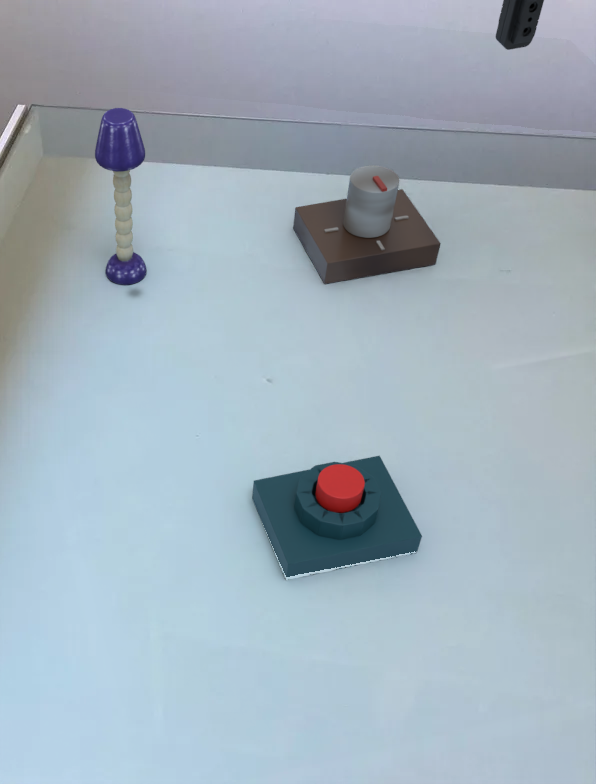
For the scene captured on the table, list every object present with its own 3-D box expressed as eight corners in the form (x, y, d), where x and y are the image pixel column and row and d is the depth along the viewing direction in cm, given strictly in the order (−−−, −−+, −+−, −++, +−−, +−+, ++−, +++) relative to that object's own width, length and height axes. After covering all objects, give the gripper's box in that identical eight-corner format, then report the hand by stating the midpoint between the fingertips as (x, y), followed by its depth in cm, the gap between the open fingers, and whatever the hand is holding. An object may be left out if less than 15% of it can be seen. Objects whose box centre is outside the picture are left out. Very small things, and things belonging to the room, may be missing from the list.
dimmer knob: (335, 215, 99) (343, 166, 95) (379, 207, 100) (388, 158, 96) (353, 241, 97) (361, 193, 92) (397, 233, 97) (408, 184, 93)
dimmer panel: (398, 210, 104) (403, 187, 102) (435, 264, 98) (441, 241, 96) (292, 228, 103) (295, 205, 100) (324, 284, 97) (327, 261, 95)
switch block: (375, 473, 82) (383, 439, 79) (416, 553, 77) (427, 521, 74) (251, 498, 81) (254, 465, 77) (285, 581, 76) (290, 549, 72)
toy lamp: (157, 277, 98) (154, 117, 85) (119, 294, 97) (110, 134, 83) (131, 254, 101) (124, 94, 87) (94, 271, 99) (81, 111, 86)
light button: (351, 475, 77) (355, 460, 76) (368, 508, 75) (371, 493, 74) (309, 483, 77) (311, 468, 75) (324, 517, 75) (327, 502, 73)
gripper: (714, -242, 53) (605, 77, 67) (591, -301, 61) (517, -2, 75) (590, -225, 52) (506, 95, 66) (481, -286, 60) (427, 13, 74)
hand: (512, 43), depth 71 cm, fingers closed
